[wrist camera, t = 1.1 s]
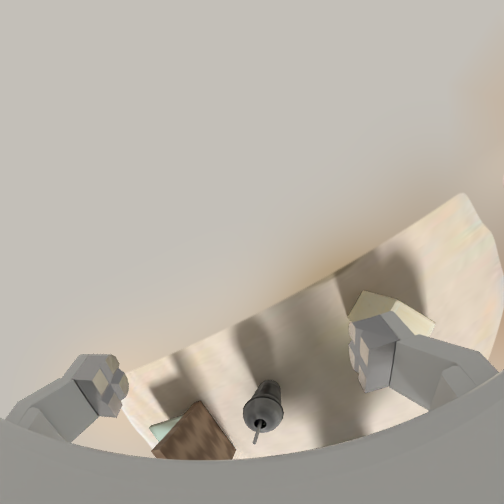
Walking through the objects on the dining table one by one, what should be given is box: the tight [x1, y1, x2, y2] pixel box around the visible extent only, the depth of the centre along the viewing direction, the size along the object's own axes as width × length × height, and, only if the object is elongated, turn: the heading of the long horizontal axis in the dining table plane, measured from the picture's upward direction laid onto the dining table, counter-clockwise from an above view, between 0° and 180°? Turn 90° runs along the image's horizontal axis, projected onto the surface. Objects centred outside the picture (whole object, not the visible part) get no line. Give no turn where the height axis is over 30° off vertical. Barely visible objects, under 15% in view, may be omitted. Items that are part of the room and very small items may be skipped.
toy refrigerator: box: [348, 290, 435, 337], centre depth 42 cm, size 8×7×21 cm
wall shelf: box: [149, 401, 236, 460], centre depth 45 cm, size 16×12×22 cm
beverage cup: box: [243, 380, 284, 444], centre depth 44 cm, size 7×7×20 cm
